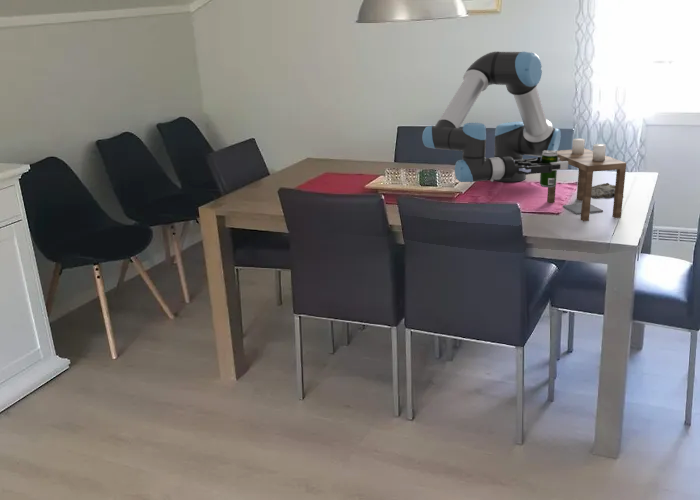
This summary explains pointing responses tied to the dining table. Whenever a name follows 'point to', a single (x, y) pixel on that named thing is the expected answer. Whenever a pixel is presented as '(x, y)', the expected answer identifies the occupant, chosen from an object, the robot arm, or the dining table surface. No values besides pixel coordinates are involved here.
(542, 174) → the beer can
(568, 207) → the felt pad
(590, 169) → the walnut stand
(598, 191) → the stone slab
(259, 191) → the dining table surface
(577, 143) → the white short cylinder
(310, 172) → the dining table surface
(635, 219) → the dining table surface
